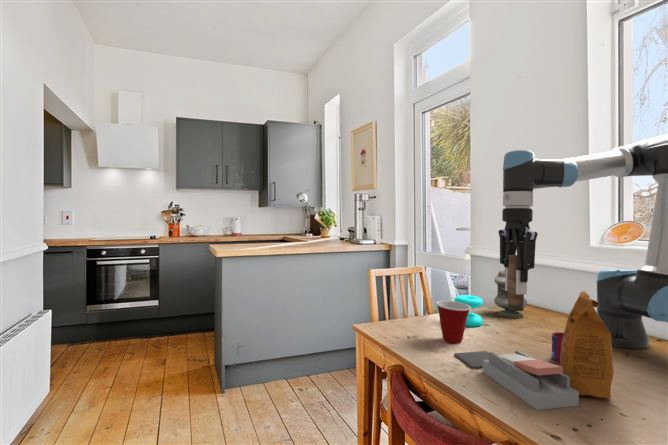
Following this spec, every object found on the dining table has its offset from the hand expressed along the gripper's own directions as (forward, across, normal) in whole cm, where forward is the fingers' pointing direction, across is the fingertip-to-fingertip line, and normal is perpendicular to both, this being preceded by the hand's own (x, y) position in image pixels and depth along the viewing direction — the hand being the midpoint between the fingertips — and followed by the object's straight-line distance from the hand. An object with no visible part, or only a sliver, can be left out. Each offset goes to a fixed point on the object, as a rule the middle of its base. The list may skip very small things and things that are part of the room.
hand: (515, 292), depth 106 cm
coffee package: (+19, +18, +5) cm, 27 cm away
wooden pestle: (+5, 0, 0) cm, 5 cm away
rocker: (+14, +15, -8) cm, 22 cm away
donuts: (+19, -36, +7) cm, 41 cm away
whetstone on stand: (+19, +15, -8) cm, 26 cm away
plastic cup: (+20, -19, -8) cm, 28 cm away
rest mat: (+19, -2, -9) cm, 21 cm away
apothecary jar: (+19, -44, +30) cm, 56 cm away
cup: (+19, +3, +16) cm, 25 cm away
